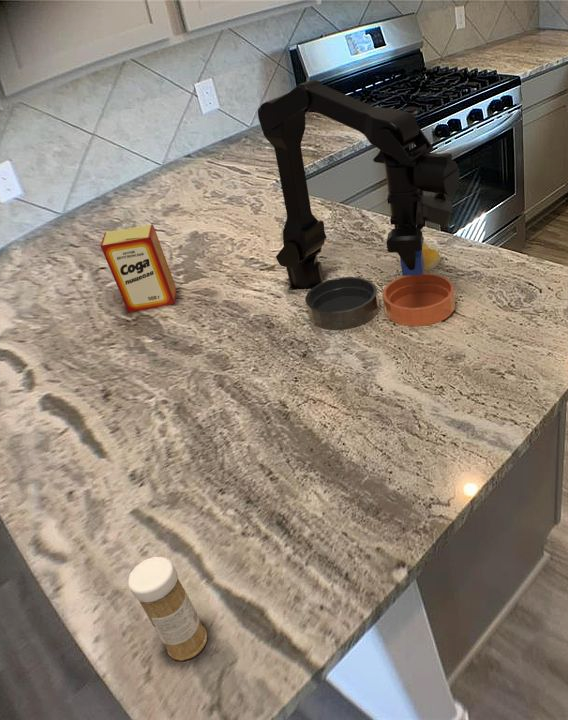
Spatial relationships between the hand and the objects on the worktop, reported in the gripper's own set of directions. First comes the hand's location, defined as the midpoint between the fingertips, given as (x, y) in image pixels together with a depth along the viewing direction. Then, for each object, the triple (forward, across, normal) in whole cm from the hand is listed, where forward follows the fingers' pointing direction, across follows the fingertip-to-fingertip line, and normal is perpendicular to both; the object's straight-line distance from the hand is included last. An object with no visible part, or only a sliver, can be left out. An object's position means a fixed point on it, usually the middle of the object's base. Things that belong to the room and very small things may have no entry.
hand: (412, 264), depth 128 cm
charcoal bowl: (+10, 0, +15) cm, 18 cm away
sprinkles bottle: (+11, -72, +22) cm, 76 cm away
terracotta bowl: (+10, 0, 0) cm, 10 cm away
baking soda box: (+10, +9, +58) cm, 60 cm away
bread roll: (+11, +20, 0) cm, 23 cm away
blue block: (+1, 0, 0) cm, 1 cm away
